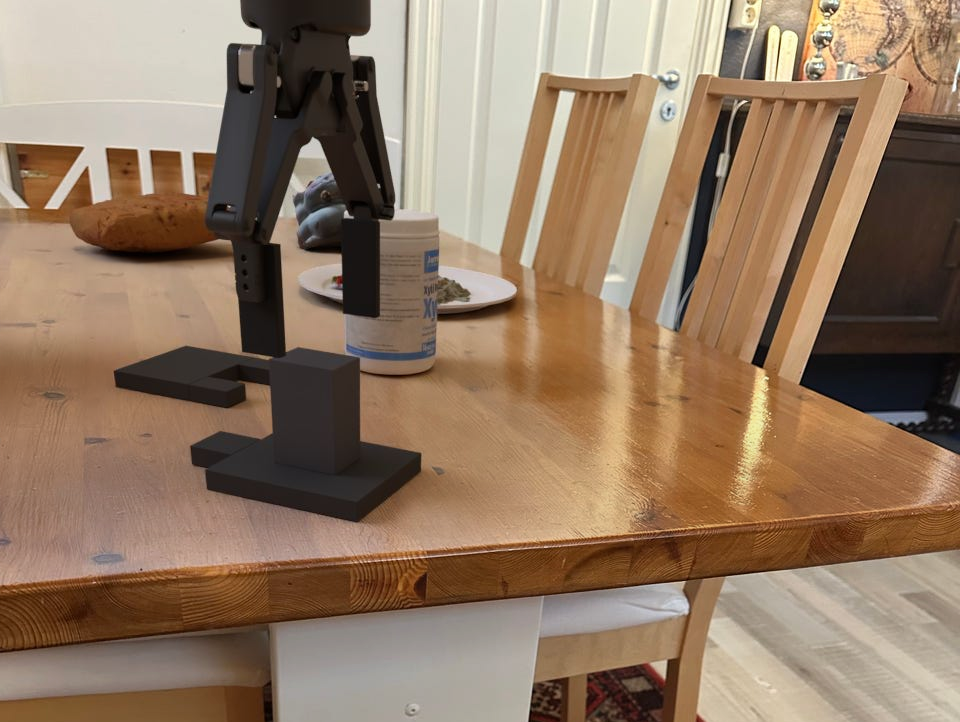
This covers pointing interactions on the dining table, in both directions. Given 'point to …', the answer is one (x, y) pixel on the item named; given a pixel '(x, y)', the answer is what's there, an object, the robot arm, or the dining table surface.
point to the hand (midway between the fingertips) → (316, 333)
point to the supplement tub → (401, 299)
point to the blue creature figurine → (319, 213)
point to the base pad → (195, 375)
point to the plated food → (454, 287)
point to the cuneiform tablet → (144, 223)
